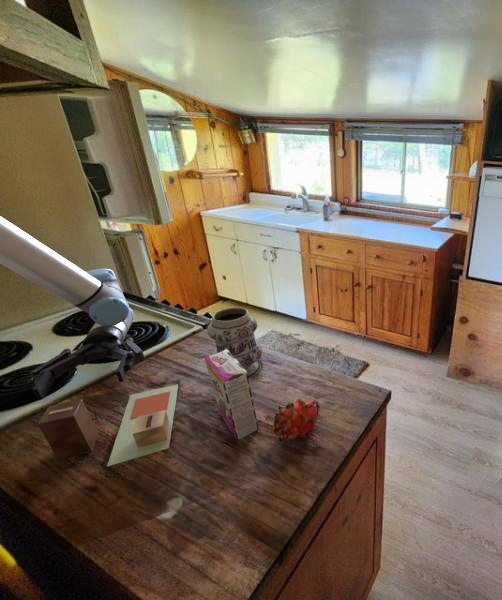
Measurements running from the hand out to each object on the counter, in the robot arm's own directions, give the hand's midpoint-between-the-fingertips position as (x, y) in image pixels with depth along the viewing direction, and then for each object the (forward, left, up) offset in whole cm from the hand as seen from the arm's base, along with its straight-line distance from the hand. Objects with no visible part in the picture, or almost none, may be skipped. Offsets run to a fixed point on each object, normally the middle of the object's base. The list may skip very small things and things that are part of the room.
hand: (80, 385), depth 70 cm
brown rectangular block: (0, -10, -9) cm, 13 cm away
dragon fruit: (+41, -24, -9) cm, 48 cm away
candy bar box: (+29, -16, -9) cm, 34 cm away
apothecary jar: (+31, +4, -9) cm, 33 cm away
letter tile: (+13, -13, -8) cm, 20 cm away
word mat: (+11, -7, -9) cm, 16 cm away
